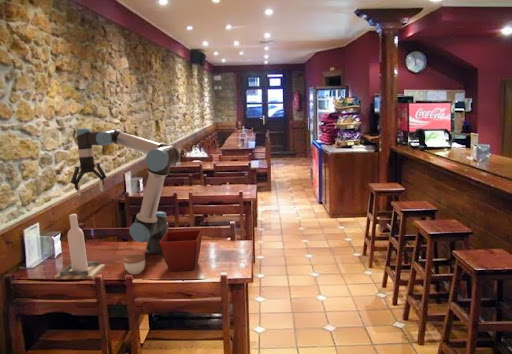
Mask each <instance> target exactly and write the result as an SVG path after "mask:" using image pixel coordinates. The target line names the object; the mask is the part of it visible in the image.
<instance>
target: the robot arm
mask: <svg viewBox="0 0 512 354" xmlns="http://www.w3.org/2000/svg"><path fill="white" fill-rule="evenodd" d="M75 133H76V134H75V135H76V143H77V151H78V156H79V160H78V161H79V166H78V165H75V166H74V171H73V174H72V177H71V181H70V184H73V185H74V189H75V190H76V193H77V196H79V197H81V196H82V194H81V186H80V183H79V182H81V179H82V178H83V177H84V175H85V174H88V173H93V175H95V176H96V177H97V178H98V185H99V191H100V192H104V185H105V182H104V180H105V179H107V175H106V173H105V172H104V170H103V169H102V167H101V165H100V163H99V162H96V163H95V159H94V152H93V146H108V145H110V144H116V145H118V146H122V147H125V148H128V149H130V150H134V151H138V152H141V153H144V154H146V156H145V165H146V171H147V172H148V176H147V181H146V185H145V190H144V194H143V198H142V203H141V206H140V207H141V208H140V211H139V212H138V213H137V214H136V216H135V221H134V223H132V224H131V225H130V227H129V234H130V236H131V237H132V239H133V240H134V241H135V242H137V243H144V242H146V247H145V252H146V253H147V254H149V255H163V254H162V251H161V247H160V243H159V242H160V241H161V239H162V238H163V237H164V235H165V234H166V233H167V232H169V229H168V218H167V213H166V212H164V211H158V207H159V203H160V199H161V195H162V191H163V186H164V182H165V179H166V177H167V176H169V174H170V170H171V167H173V166H176V165H177V163H179V161H180V156H181V155H180V151H179V149H178V148H177V147H176V146H174V145H171V144H168V143H166V142H160V143H158V142H155V141H153V140H150V139H146V138H142V137H139V136H137V135H132V134H129V133H125V132H123V131H122V130H121V129H119V128H113V129H112V128H111V129H107V130H101V131H91V129H90V128H88V127H87V128H86V127H85V128H77V129H76V130H75ZM95 168H96V169H97V170H96V169H95Z"/></svg>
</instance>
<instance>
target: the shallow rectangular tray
mask: <svg viewBox="0 0 512 354" xmlns="http://www.w3.org/2000/svg"><path fill="white" fill-rule="evenodd" d="M99 263H100V262H99V261H87V264H88V269H87V270H86V271H72V268H71V263H70V264H68V265H67V266H65V268H63V269H62V270H61V271H59V272H58V273H57V274H56V275H54V276H53V277H54V280H80V279H81V280H83V279H84V280H85V279H94V278H95V277H96V276H97V275H99V273H100V272H101V271H102V270H103V269H104V268H105V267H106V265H105V264H103V263H100V264H99Z"/></svg>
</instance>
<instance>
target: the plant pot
mask: <svg viewBox="0 0 512 354" xmlns="http://www.w3.org/2000/svg"><path fill="white" fill-rule="evenodd" d="M202 235H203V231H202V230H201V229H200V230H199V229H197V230H194V229H193V230H177V231H168V232H167V233H166V234H165V235H164V237H163V238H162V239H161V241H160V242H159V243H160V247H161V251H162V254H161V255H162V256H163V259H164V261H165V264H166V266H167V268H168V271H169V272H181V271H182V272H183V271H185V272H186V271H194V270H195V269H196V267H197V265H198V262H199V259H200V258H199V257H200V255H201V254H200V252H201V245H202V237H203V236H202Z"/></svg>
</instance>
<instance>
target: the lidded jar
mask: <svg viewBox="0 0 512 354" xmlns="http://www.w3.org/2000/svg"><path fill="white" fill-rule="evenodd" d="M123 264H124V268H125V270H126V272H127V273H129V274H130V275H139V274H141V273H142V272H143V271H144V269H145V266H146V256H145V254H144V255H143V254H132V255H128V256H125V257H124V258H123Z"/></svg>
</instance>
